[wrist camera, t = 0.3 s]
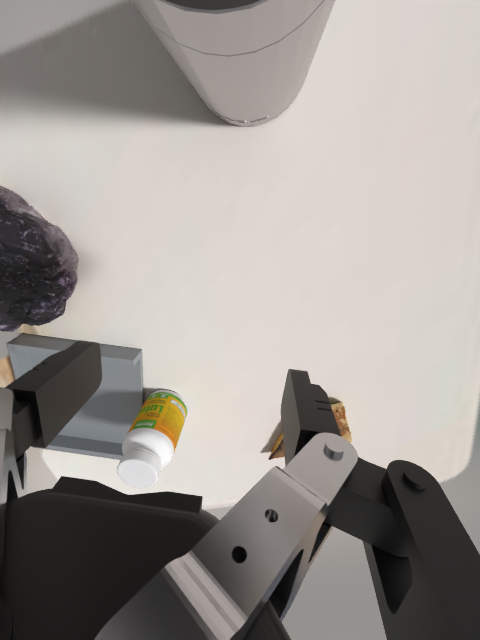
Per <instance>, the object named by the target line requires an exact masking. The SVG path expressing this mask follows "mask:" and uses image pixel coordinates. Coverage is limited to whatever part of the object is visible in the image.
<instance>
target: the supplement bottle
mask: <svg viewBox="0 0 480 640" xmlns="http://www.w3.org/2000/svg"><path fill="white" fill-rule="evenodd" d="M187 412H188V408H187V404H186V402H185V401H184V399H183V398H182V397H181V396H180V395H178V394H177V393H175V392H172V391H169V390H158V391H155V392H153V393H151V394H150V395H149V396H148V397H147V399H146V401H145V402H144V404H143V406H142V408H141V409H140V411H139V413H138V415H137V417H136V418H135V420H134V422H133V424H132V426H131V427H130V429H129V431H128V433H127V435H126V436H125V438H124V440H123V444H122V452H123V457H122V459H121V461H120V463H119V465H118V467H117V473H118V476H119V477H120V479H121V480H122V481H123V482H125V483H126V484H128V485H130V486H132V487H136V488H148V487H150V486H152V485H154V484H155V483H156V481H157V479H158V476H159V474H160V472H161V468H163V467H165V466H166V465H167V464H168V463H169V462H170V461H171V459H172V456H173V454H174V451H175V448H176V445H177V442H178V439H179V436H180V433H181V430H182V427H183V425H184V422H185V419H186V416H187Z"/></svg>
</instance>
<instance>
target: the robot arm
mask: <svg viewBox="0 0 480 640" xmlns="http://www.w3.org/2000/svg"><path fill="white" fill-rule="evenodd" d="M131 1H132V2H133V3H134V4H135V6H136V7H137V8H138V10H139V11H140V13H141V14H142V16H143V17H144V18H145V20H146V21H147V23H148V24H149V25H150V27H151V28H152V30H153V31H154V33H155V34H156V35H157V37H158V38H159V40H160V41H161V42H162V44H163V45H164V47H165V48H166V50H167V51H168V52H169V54H170V55H171V57H172V58H173V59H174V61H175V62H176V64H177V65H178V67H179V68H180V69H181V71H182V72H183V74H184V75H185V76H186V78H187V79H188V81H189V82H190V84H191V85H192V87H193V88H194V89H195V91H196V92H197V94H198V95H199V96H200V98H201V99H202V100H203V102H204V103H205V104H206V106H207V107H208V108H209V109H210V110H211V111H212V112H213V113H214V114H215V115H217V116H218V117H219V118H221V119H222V120H224V121H226V122H228V123H230V124H234V125H238V126H256V125H260V124H264V123H267V122H269V121H270V120H272V119H274V118H276V117H277V116H279V115H280V114H281V113H282V112H283V111H285V110H286V109H287V108H288V107H289V105H290V104H291V103H292V101H293V100H294V99H295V98H296V96H297V94H298V92H299V91H300V89H301V87H302V85H303V83H304V80H305V78H306V75H307V72H308V70H309V67H310V65H311V62H312V60H313V57H314V55H315V52H316V49H317V47H318V44H319V42H320V39H321V36H322V34H323V31H324V28H325V26H326V23H327V21H328V18H329V15H330V13H331V10H332V8H333V5H334V2H335V0H131ZM101 381H102V364H101V350H100V345H99V344H98V343H96V342H88V341H81V340H79V341H77V342H75V343H74V344H73V345H71V346H70V347H68V348H67V349H66V350H62V351H60V352H57V353H55V354H52V355H50V356H49V357H47V358H46V359H44V360H43V361H42V362H41V363H40V364H37V365H36V366H35V367H33V369H32V370H31V369H30V370H29V371H28V372H26V373H25V374H23V375H22V376H21V377H19V378H18V379H16V380H15V381H14V382H12V383H11V384H9V385H8V386H7V387H5V388H1V387H0V640H291V639H290V637H289V635H288V633H287V632H286V629H285V628H284V626H283V624H282V621H283V619H284V617H285V615H286V614H287V612H288V610H289V608H290V607H291V605H292V603H293V601H294V599H295V597H296V595H297V593H298V591H299V589H300V586H301V584H302V582H303V580H304V578H305V576H306V574H307V572H308V570H309V568H310V567H311V565H312V563H313V562H314V560H315V558H316V556H317V555H318V553H319V551H320V549H321V548H322V546H323V544H324V543H325V541H326V539H327V538H328V536H329V534H330V532H331V531H332V529H333V527H336V528H338V529H340V530H342V531H344V532H346V533H348V534H350V535H352V536H354V537H357V538H359V539H361V540H363V544H364V548H365V552H366V556H367V560H368V564H369V568H370V572H371V576H372V580H373V584H374V588H375V592H376V597H377V600H378V605H379V609H380V613H381V617H382V621H383V625H384V629H385V633H386V637H387V640H480V555H479V553H478V551H477V549H476V548H475V546H474V544H473V542H472V541H471V539H470V537H469V535H468V534H467V532H466V530H465V528H464V527H463V525H462V523H461V522H460V520H459V518H458V516H457V514H456V513H455V511H454V509H453V507H452V506H451V504H450V502H449V500H448V499H447V497H446V495H445V494H444V492H443V490H442V488H441V486H440V485H439V483H438V482H437V480H436V479H435V478H434V477H433V476H432V475H431V474H430V473H429V472H427V471H426V470H425V469H423V468H422V467H420V466H418V465H416V464H414V463H411V462H408V461H404V460H395V461H392V462H391V463H390V464H389V465H388V467H387V469H385V468H382V467H380V466H377V465H374V464H372V463H369V462H367V461H365V460H363V459H361V458H359V457H358V455H357V452H356V450H355V448H354V447H353V445H352V444H351V443H350V442H348V441H347V440H346V439H344V438H343V437H342V436H341V433H340V430H339V428H338V425H337V422H336V419H335V416H334V413H333V411H332V407H331V404H330V402H329V399H328V396H327V393H326V392H325V391H324V390H323V389H322V388H321V387H320V386H319V385H315V384H311V383H310V379H309V376H308V372H307V371H301V370H293V369H289V370H288V373H287V378H286V383H285V388H284V393H283V398H282V404H281V421H282V431H283V442H284V453H285V463H286V467H285V468H284V469H280V468H279V467H278V466H275V467H273V468H272V469H271V470H270V471H269V472H268V473H267V474H266V475H265V476H264V477H263V478H262V479H261V480H260V481H259V482H258V483H257V484H256V485H255V486H254V487H253V488H252V489H251V490H250V491H249V492H248V493H247V494H246V495H245V496H244V497H243V498H242V499H241V500H240V501H239V502H238V503H237V504H236V505H235V506H234V507H233V508H232V509H231V510H230V511H229V512H228V513H227V514H226V515H225V516H224V517H223V518H222V519H221V520H218V519H217V518H216V517H215V516H213V515H212V514H210V513H208V512H207V511H204V510H202V509H201V508H202V496H195V495H188V494H181V493H175V492H157V493H147V494H136V495H126V494H124V493H121V492H119V491H117V490H115V489H112V488H110V487H108V486H106V485H103V484H101V483H99V482H97V481H91V480H85V479H78V478H71V477H64V476H61V478H60V479H59V480H58V482H57V483H56V484H55V486H54V487H53V489H46V490H41V491H37V492H33V493H30V494H27V495H26V490H27V489H26V487H27V478H26V476H27V472H26V471H27V458H26V453H25V451H26V450H27V449H28V448H29V447H30V446H32V447H39V448H46V447H47V446H48V445H49V444H50V443H51V441H52V440H53V439H54V438H55V437H56V436H57V435H58V434H59V432H60V431H61V430H62V429H63V428H64V427H65V426H66V424H67V423H68V422H69V421H70V420H71V419H72V418H73V417H74V415H75V414H76V413H77V412H78V411H79V410H80V409H81V408H82V406H83V405H84V404H85V403H86V402H87V401H88V400H89V399H90V397H91V396H92V395H93V394H94V393H95V392H96V391H97V389H98V388H99V386H100V384H101Z"/></svg>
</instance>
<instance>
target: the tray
mask: <svg viewBox="0 0 480 640" xmlns="http://www.w3.org/2000/svg"><path fill="white" fill-rule="evenodd" d="M75 342H77V341H76V340H68V339H61V338H54V337H46V336H39V335H31V334H24V333H23V334H21V335H19V336H18V337H16V338H14V339H13V340H11V341H10V342H8V343H7V348H8V352H9V356H10V360H11V363H12V367H13V371H14V375H15V379H18V378H19V377H21V376H22V375H23V374H25V373H26V372H28V371H29V370H30V369H31V370H32V369H33V367H35V366H36V365H37V364H40V363H41V362H42V361H43V360H44V359H46V358H47V357H49V356H50V355H52V354H55V353H57V352H60V351H62V350H66V349H67V348H68V347H70V346H71V345H73V344H74V343H75ZM99 345H100V350H101V364H102V381H101V384H100V386H99V388H98V389H97V391H96V392H95V393H94V394H93V395H92V396H91V397H90V399H89V400H88V401H87V402H86V403H85V404H84V405H83V406H82V408H81V409H80V410H79V411H78V412H77V413H76V414H75V415H74V417H73V418H72V419H71V420H70V421H69V422H68V423H67V424H66V426H65V427H64V428H63V429H62V430H61V431H60V432H59V434H58V435H57V436H56V437H55V438H54V439H53V440H52V441H51V443H50V444H49V445H48V446H47V447H46V448H42V449H49V450H56V451H63V452H70V453H77V454H83V455H90V456H97V457H104V458H111V459H118V460H121V459H122V457H123V452H122V444H123V440H124V438H125V436H126V435H127V433H128V431H129V429H130V427H131V426H132V424H133V422H134V420H135V418H136V417H137V415H138V413H139V411H140V409H141V408H142V406H143V404H144V396H143V367H142V349H135V348H128V347H120V346H113V345H105V344H99ZM35 448H39V447H35Z"/></svg>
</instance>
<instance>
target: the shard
mask: <svg viewBox="0 0 480 640" xmlns="http://www.w3.org/2000/svg"><path fill="white" fill-rule="evenodd" d="M331 407H332V411H333V413H334V416H335V419H336V422H337V425H338V428H339V430H340V433H341V436H342V437H343V438H344V439H346V440H347V441H348V442H351V441H352V437H351V432H350V428H349V425H348V422H347V419H346V415H345V406H344V405H343V402H340V403H336V404H331ZM284 456H285V453H284V442H283V433H282V434H281V435H280V437H279V438H278V439H277V441H276V443H275V445H274V447H273V449H272V453H271V455H270V456H269V460H271V459H273V458H279V457H284Z"/></svg>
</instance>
